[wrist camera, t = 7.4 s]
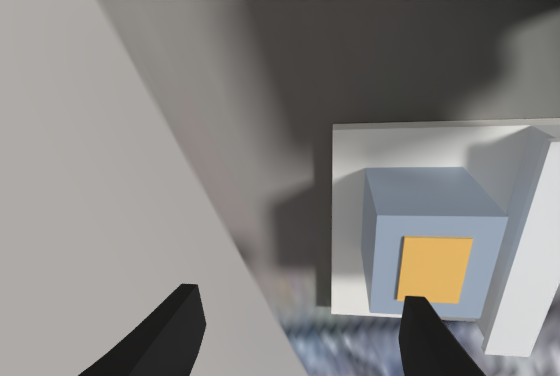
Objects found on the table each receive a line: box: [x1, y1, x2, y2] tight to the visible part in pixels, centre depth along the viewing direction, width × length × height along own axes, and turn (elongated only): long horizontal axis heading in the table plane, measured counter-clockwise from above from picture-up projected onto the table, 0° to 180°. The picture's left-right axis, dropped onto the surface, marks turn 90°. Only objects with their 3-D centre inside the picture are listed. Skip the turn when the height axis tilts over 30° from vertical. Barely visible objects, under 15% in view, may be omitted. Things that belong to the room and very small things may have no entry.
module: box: [361, 167, 509, 319], centre depth 15 cm, size 5×4×5 cm
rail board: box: [331, 118, 560, 357], centre depth 17 cm, size 12×11×3 cm
